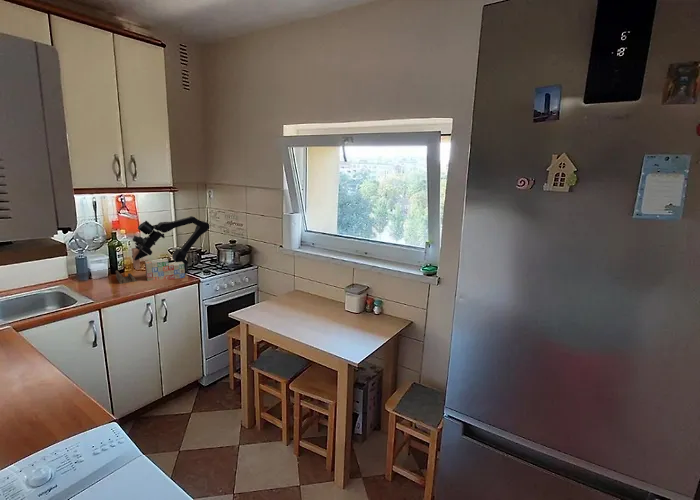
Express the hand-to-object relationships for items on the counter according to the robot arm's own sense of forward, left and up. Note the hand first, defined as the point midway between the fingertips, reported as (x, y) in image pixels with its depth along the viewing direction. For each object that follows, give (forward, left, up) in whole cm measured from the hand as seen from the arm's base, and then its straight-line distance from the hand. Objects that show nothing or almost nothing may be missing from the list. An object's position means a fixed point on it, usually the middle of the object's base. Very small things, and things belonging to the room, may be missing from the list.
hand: (133, 258), depth 227 cm
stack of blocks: (-12, +12, -14) cm, 22 cm away
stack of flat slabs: (+4, -2, -13) cm, 14 cm away
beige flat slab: (-1, +1, -6) cm, 6 cm away
